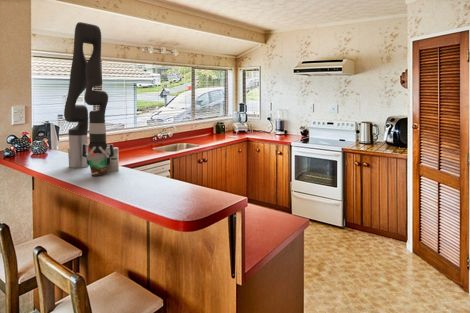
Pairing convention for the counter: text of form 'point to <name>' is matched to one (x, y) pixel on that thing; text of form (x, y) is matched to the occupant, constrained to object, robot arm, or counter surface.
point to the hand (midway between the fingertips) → (98, 165)
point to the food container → (98, 164)
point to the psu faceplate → (112, 160)
